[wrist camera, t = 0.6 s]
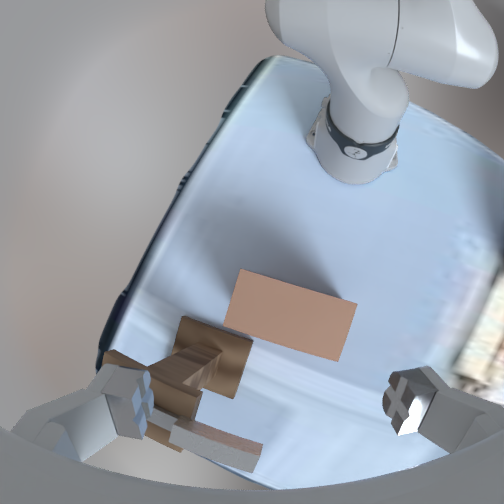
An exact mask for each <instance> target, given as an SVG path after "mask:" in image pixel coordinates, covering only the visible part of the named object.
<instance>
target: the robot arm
mask: <svg viewBox="0 0 504 504" xmlns="http://www.w3.org/2000/svg"><path fill="white" fill-rule="evenodd" d="M265 12H266V17H267V20H268V23H269V26H270V28H271V30H272V31H273V33H274V34H275V35H276V37H277V38H278V39H279V40H280V41H281V42H282V43H283V44H285V45H286V46H288V47H290V48H292V49H294V50H296V51H298V52H300V53H302V54H303V55H305V56H306V57H308V58H309V59H310V60H312V61H313V62H314V63H315V64H316V65H317V66H318V67H319V68H320V69H321V70H322V71H323V73H324V74H325V75H326V76H327V78H328V80H329V82H330V95H329V97H328V98H326V97H325V98H324V99H323V101H322V105H321V107H322V109H321V111H320V112H319V114H318V117H317V118H316V120H315V122H314V124H313V126H312V128H311V129H310V131H309V133H308V135H307V137H306V142H307V144H308V145H309V146H310V147H311V148H312V149H313V150H314V151H315V153H316V155H317V157H318V160H319V162H320V164H321V165H322V167H323V168H324V169H325V171H326V172H327V173H328V174H330V175H331V176H332V177H334V178H335V179H337V180H339V181H341V182H344V183H348V184H354V185H359V184H365V183H369V182H371V181H373V180H375V179H376V178H377V177H379V176H380V175H381V174H382V173H383V172H386V171H390V170H393V169H395V168H396V166H397V164H398V159H397V149H398V145H397V144H396V136H397V133H398V129H399V123H400V121H401V119H402V117H403V115H404V113H405V111H406V109H407V107H408V104H409V91H408V87H407V85H406V83H405V81H404V79H403V77H402V76H401V74H400V73H399V71H402V72H406V73H409V74H413V75H417V76H420V77H423V78H426V79H429V80H432V81H436V82H438V83H443V84H449V85H454V86H461V87H467V88H473V89H476V88H479V87H481V86H482V85H484V84H485V83H486V82H487V81H488V80H489V79H490V78H491V77H492V75H493V74H494V72H495V70H496V67H497V63H498V45H497V41H496V38H495V35H494V32H493V30H492V28H491V26H490V25H489V23H488V22H487V21H486V19H485V18H484V17H483V15H482V14H481V13H480V11H479V10H478V8H477V7H476V5H475V4H474V2H473V0H266V3H265ZM398 70H399V71H398ZM313 134H315V136H313ZM150 382H151V378H150V373H149V372H148V370H142V369H136V368H131V367H125V366H119V365H114V364H109V363H107V364H104V365H103V366H102V368H101V369H100V371H99V372H98V373H97V375H96V376H95V378H94V379H93V380H92V382H91V383H90V385H89V386H88V388H87V389H86V390H85V389H80V390H78V391H76V392H73V393H71V394H69V395H66V396H63V397H61V398H58V399H56V400H53V401H51V402H48V403H46V404H43V405H41V406H38V407H35V408H33V409H30V410H27V411H26V413H25V414H24V415H23V416H22V417H21V419H20V420H19V421H18V422H17V424H16V425H15V426H14V427H13V429H12V430H11V431H10V432H9V431H7V430H6V429H4V428H2V427H0V504H504V408H503V407H502V406H501V405H498V404H495V403H493V402H490V401H487V400H484V399H482V398H479V397H476V396H474V395H471V394H468V393H466V392H463V391H461V390H458V389H456V388H450V387H449V386H448V385H447V384H446V383H445V382H444V381H443V380H442V379H441V378H440V377H439V375H438V374H437V373H436V372H435V371H434V370H433V369H432V368H431V367H429V366H423V367H418V368H415V369H409V370H402V371H395V372H393V373H392V374H391V375H390V378H389V381H388V382H389V384H390V386H389V387H388V389H387V390H386V391H385V392H384V396H383V405H382V406H383V409H384V412H385V414H386V415H387V416H389V417H390V418H392V421H391V424H392V426H393V428H394V430H395V431H396V433H397V435H401V434H406V433H411V432H415V431H418V433H420V434H421V435H423V436H424V437H426V438H427V439H429V440H430V441H432V442H433V443H435V444H436V445H438V446H439V447H441V448H442V449H444V450H445V451H447V452H449V453H450V454H449V455H446V456H443V457H441V458H438V459H435V460H432V461H429V462H426V463H423V464H420V465H417V466H414V467H411V468H407V469H404V470H400V471H397V472H393V473H389V474H385V475H381V476H377V477H372V478H368V479H363V480H358V481H353V482H347V483H341V484H334V485H327V486H319V487H310V488H298V489H283V490H224V489H211V488H200V487H190V486H182V485H175V484H168V483H162V482H157V481H151V480H146V479H141V478H137V477H132V476H128V475H124V474H120V473H116V472H112V471H108V470H105V469H101V468H98V467H95V466H91V465H88V464H85V463H82V462H83V461H84V460H86V459H87V458H88V457H90V456H91V455H93V454H94V453H96V452H97V451H98V450H100V449H101V448H103V447H104V446H105V445H107V444H108V443H109V442H111V441H112V440H114V439H115V438H117V436H118V435H119V436H124V437H130V438H135V439H141V440H142V439H143V437H144V434H145V431H146V429H147V422H146V420H147V419H148V418H150V417H151V415H152V412H153V406H154V396H153V391H152V390H151V389H150V388H149V384H150Z"/></svg>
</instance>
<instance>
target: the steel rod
mask: <svg viewBox="0 0 504 504" xmlns="http://www.w3.org/2000/svg"><path fill="white" fill-rule="evenodd" d="M147 420H148V421H150V422H152V423H154V424H156V425H158V426H160V427H162V428H164V429H166V430H168V431H171V434H170V438H169V442H170V443H172V444H174V445H176V446H179V447H181V448H183V449H186V450H188V451H190V452H193V453H195V454H198V455H200V456H203V457H206V458H208V459H211V460H214V461H216V462H219V463H222V464H225V465H228V466H231V467H234V468H237V469H240V470H243V471H246V472H250V473H253V471H254V469H255V466H256V464H257V462H258V460H259V458H260V455H261V451H262V446H263V444H261V443H257V442H254V441H251V440H248V439H244V438H241V437H238V436H235V435H232V434H230V433H227V432H224V431H221V430H218V429H216V428H213V427H210V426H208V425H205V424H203V423H200V422H198V421H195V420H193V419H190V418H188V417H186V416H183V415H181V416H179V415H176V414H174V413H172V412H170V411H167V410H165V409H163V408H161V407H159V406H157V405H155V404H154V406H153V412H152V415H151V417H150V418H148V419H147Z"/></svg>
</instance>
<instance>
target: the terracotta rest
mask: <svg viewBox="0 0 504 504" xmlns="http://www.w3.org/2000/svg"><path fill="white" fill-rule="evenodd" d="M356 307H357V304H356V303H353V302H350V301H347V300H344V299H340V298H337V297H334V296H330V295H327V294H323V293H320V292H317V291H313V290H310V289H307V288H303V287H300V286H297V285H293V284H290V283H287V282H283V281H280V280H277V279H274V278H270V277H267V276H264V275H261V274H257V273H254V272H251V271H247V270H244V269H240V272H239V275H238V278H237V281H236V285H235V288H234V291H233V294H232V298H231V301H230V304H229V307H228V311H227V314H226V317H225V320H224V323H223V326H225V327H228V328H231V329H234V330H236V331H239V332H242V333H245V334H248V335H251V336H254V337H257V338H260V339H263V340H266V341H269V342H272V343H275V344H279V345H282V346H285V347H288V348H291V349H295V350H298V351H301V352H305V353H308V354H312V355H315V356H319V357H322V358H326V359H329V360H333V361H337V362H338V360H339V358H340V355H341V352H342V349H343V346H344V344H345V341H346V338H347V335H348V332H349V329H350V326H351V323H352V320H353V317H354V314H355V310H356Z"/></svg>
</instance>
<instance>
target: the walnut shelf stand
mask: <svg viewBox="0 0 504 504" xmlns="http://www.w3.org/2000/svg"><path fill="white" fill-rule="evenodd" d="M252 344H253V340H250V339H247V338H244V337H241V336H238V335H235V334H232V333H229V332H227V331H224V330H221V329H218V328H216V327H213V326H210V325H208V324H205V323H202V322H200V321H197V320H194V319H192V318H189V317H187V316H182V318H181V321H180V325H179V328H178V332H177V335H176V339H175V343H174V346H173V350H172V354H171V356H169V357H167V358H165V359H163V360H160V361H158V362H156V363H154V364H152V365H150V366H148V367H147V366H145V365H143V364H141V363H139V362H137V361H135V360H133V359H131V358H129V357H127V356H125V355H123V354H122V353H120V352H118V351H116V350H114V349H113V350H110V351H106V352H104V357H103V363H102V366H103V365H104V364H107V363H109V364H114V365H119V366H125V367H131V368H136V369H142V370H148V372H149V373H150V378H151V382H150V384H149V388H150V389H151V390H152V391H153V396H154V404H155V405H157V406H159V407H161V408H163V409H165V410H167V411H170V412H172V413H174V414H176V415H179V416H181V415H183V416H186V417H188V418H190V419H193V420H195V416H196V413H197V410H198V406H199V403H200V400H201V397H202V393H203V392H202V391H200V390H201V389H202V388H205V389H208V390H210V391H213V392H215V393H218V394H220V395H223V396H226V397H228V398H231V399H233V398H234V397H235V394H236V392H237V389H238V386H239V383H240V380H241V377H242V374H243V371H244V368H245V365H246V362H247V359H248V356H249V353H250V350H251V347H252ZM146 422H147V429H146V431H145V434H144V435H145V436H148V437H149V438H151V439H153V440H155V441H157V442H159V443H161V444H163V445H165V446H167V447H169V448H172V449H173V450H176V451H178V452H182V450H183V448H181V447H179V446H176V445H174V444H172V443H170V442H169V438H170V434H171V431H168V430H166V429H164V428H162V427H160V426H158V425H156V424H154V423H152V422H150V421H148V420H146Z"/></svg>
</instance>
